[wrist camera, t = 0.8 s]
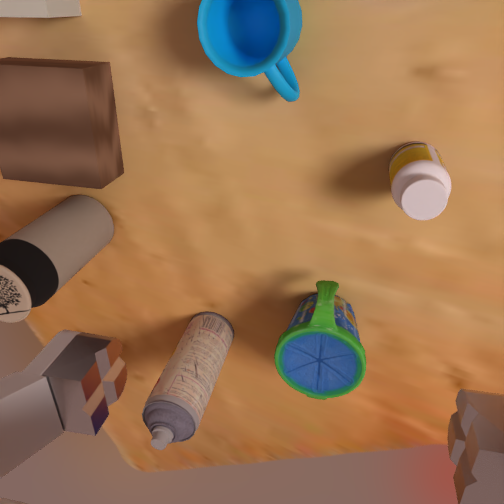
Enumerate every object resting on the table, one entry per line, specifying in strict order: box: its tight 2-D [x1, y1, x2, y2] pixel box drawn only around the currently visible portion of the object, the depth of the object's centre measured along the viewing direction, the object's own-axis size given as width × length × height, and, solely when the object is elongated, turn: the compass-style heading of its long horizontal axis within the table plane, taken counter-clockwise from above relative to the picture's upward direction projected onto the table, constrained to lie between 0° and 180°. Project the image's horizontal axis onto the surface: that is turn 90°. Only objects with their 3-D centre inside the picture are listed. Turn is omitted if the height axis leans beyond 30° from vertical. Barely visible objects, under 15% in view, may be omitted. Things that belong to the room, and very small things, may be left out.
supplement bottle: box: [389, 142, 451, 220], centre depth 44 cm, size 5×5×10 cm
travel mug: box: [0, 195, 114, 322], centre depth 54 cm, size 8×8×18 cm
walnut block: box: [0, 57, 124, 189], centre depth 53 cm, size 13×13×6 cm
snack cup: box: [274, 281, 366, 400], centre depth 56 cm, size 16×10×10 cm
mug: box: [197, 0, 302, 102], centre depth 42 cm, size 12×8×8 cm
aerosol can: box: [142, 312, 234, 450], centre depth 58 cm, size 7×7×20 cm
